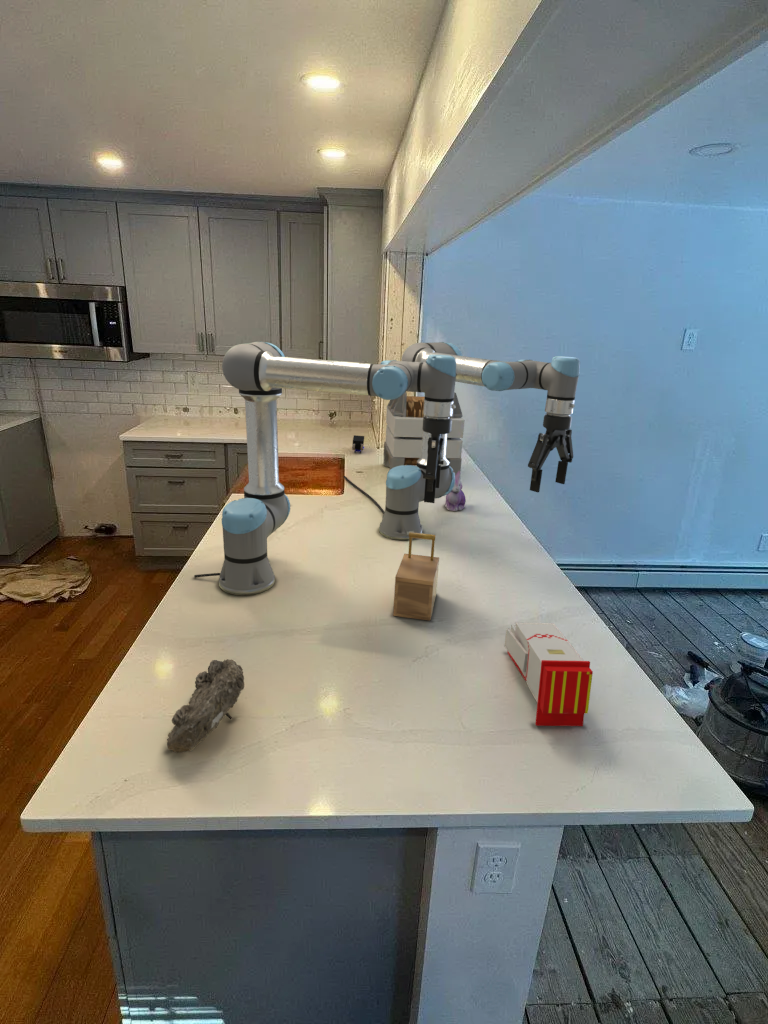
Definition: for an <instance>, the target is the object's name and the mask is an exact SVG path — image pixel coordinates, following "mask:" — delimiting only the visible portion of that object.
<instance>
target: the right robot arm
mask: <svg viewBox="0 0 768 1024" xmlns="http://www.w3.org/2000/svg"><path fill="white" fill-rule="evenodd" d="M429 355H449V356H453V357H454V358H455V359H456V380H455V383H461V384H462V383H463V384H467V385H473V386H479V387H485V388H486V389H487V390H489V391H491V392H492V391H493V392H504V391H511V390H525V389H535V390H542V391H547V392H546V400H545V406H544V412H545V413H544V414H543V420H542V421H543V422H542V427H543V428H545V433H542V432H539V433H538V435H537V440H536V443H535V446H534V448H533V451H532V452H531V455H530V458H529V460H528V463H527V467H528V468H530V469H532V470H531V478H530V484H529V491H531V492H535V493H540V490H541V483H542V476H543V469H542V467H543V466H544V464H545V462H546V461H547V458H548V457H549V455H550V453H551V452H552V451H553V450H554V449H556V451H557V454H558V456H559V460H558V461H557V467H556V475H555V483H557V484H561V485H566V478H567V472H568V465H569V463H572V462H573V459H574V449H573V440H572V433H573V429H571V427H572V420H573V416H572V414H573V413H574V408H575V406H576V405H575V400H576V393H577V387H578V382H579V379H580V378H579V377H580V367H581V361H580V358H578V357H574V356H564V355H563V356H561V355H556V356H554V357H552V359H551V362H546V361H538V360H533V359H519V360H517V361H503V360H497V359H496V360H495V359H494V360H493V359H488V358H487V359H486V358H480V357H472V356H465V355H463V353H462V351H461V350H460V348H459V347H458V346H457V345H456V344H454V343H451V342H445V341H441V342H440V341H439V342H438V341H436V342H415V343H412V344H410V345H409V346H408V347H406V348H405V350H404V351H403V352H402V356H401V360H400V361H407V362H420V363H421V362H426V360H427V357H428V356H429ZM424 417H425V415H424ZM429 437H431V434H430V433H426V432H424V431H423V438H422V456H421V457H420V458H419V459H418V460H417V466H413V465H401V466H397V467H394V468H392V469H390V468H389V470H388V472H387V475H386V479H385V504H384V505H385V507H384V508H385V509H383V507H382V506H381V505H380V504H379V503H378V501H376V500H375V498H373V497H372V496H371V495H370V494H369V493H367V492H366V491H365V490H363V489H362V488H360V487H359V486H358V485H356V484H355V483H354V482H352V481H351V480H350V479H349V478H348V477H347V476H346V475H344V476H343V479H345V480H346V481H347V482H348V483H349V484H350V485H351V486H353V487H354V488H355V489H357V490H358V491H359V492H360V493H362V494H363V495H365V496H366V497H367V498H368V499H369V500H371V502H373V503H374V505H375V506H377V508H378V509H379V510H380V512H381V513H382V514H383V515H382V519H381V522H379V527H378V533H379V534H380V535H381V536H382V537H385V538H387V539H389V540H395V541H409V532H413V533H422V534H423V525H422V524H421V518H420V515H419V507H420V506H419V505H420V503H421V502H424V494H425V480H426V479H424V478H423V475H425V474H426V466H427V457H428V453H427V451H428V439H429ZM442 438H444V443H443V449H442V460H441V461H444V463H443V465H441V464H439V465H441V471H440V483H439V488H436V490H435V499H441V498H442V497H446V495H447V494H449V493H450V492H451V491H452V489H453V487H454V484H455V474H454V473H453V469H452V468H451V467H450V466H449V464H450V462H449V461H448V460H447V459H446V445H447V434H443V437H442ZM429 474H430V473H429ZM415 539H416V538H412V540H415Z"/></svg>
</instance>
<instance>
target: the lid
mask: <svg viewBox="0 0 768 1024" xmlns="http://www.w3.org/2000/svg"><path fill="white" fill-rule="evenodd" d="M436 537H437V535H436V534H431V533H423V532H422V533H413V532H409V540H408V553H404V554H403V556H402V559H401V562H400V564H399V567H398V569H397V572H396V574H395V577H394V578H395V579H394V582H395V581H399V582H407V583H415V584H423V585H431V586H433V585H434V580H435V576H436V572H437V568H438V569H439V566H438V563H439V564H440V557H438V556H434V555H435V554H434V553H435V544H436V543H435V542H436ZM412 538H415V539H421V540H428V541H429V540H430V541H431V547H430V556H429V555H421V554H413V553H412V549H413V539H412Z"/></svg>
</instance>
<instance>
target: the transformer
mask: <svg viewBox="0 0 768 1024" xmlns="http://www.w3.org/2000/svg"><path fill="white" fill-rule="evenodd" d="M407 394H408V392H407V391H406V392H405V393H404V394H403V395H402V396H400V397H399V398H397V399H393V400H388V401H389V402H388V404H387V405H386V413H385V414H386V415H385V423H386V428H385V438H384V442H383V466H384V467H388V468H389V470H390V469H392V468H394V467H397V466H401V465H404V466H406V465H413V466H417V460H418V459H419V458H420V457H421V456H422V438H423V429H422V428H423V418H424V414H423V409H424V398H425V396H415V395H414V396H413V395H412V396H411V395H407ZM452 405H455V409H452V410H453V412H452V416H451V417H450V418H451V419H452V426H451V432H450V433H448V434H447V445H446V459H447V460H448V461H449V462H450V464H449V466H450V467H451V468H452V469H453V473H454V474H455V476H456V474H457V473H458V471H461V472H462V461H463V460H462V453H463V442H464V441H463V440H462V439H463V438H464V431H465V430H464V429H465V419H464V418H463V411H462V408H461V405H460V402H459V398H458V395H457V392H455V391H454V401H453V404H452Z"/></svg>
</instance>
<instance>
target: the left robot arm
mask: <svg viewBox="0 0 768 1024" xmlns="http://www.w3.org/2000/svg"><path fill="white" fill-rule="evenodd" d="M221 368H222V373H223V376H224V378H225V380H226V381H227V382H228V384H229V385H230V386H231V387H233V388H235V389H237V390H238V394H239V395H240V396H241V397H242V398H243V399H244V410H245V411H244V412H245V429H246V430H245V431H246V447H247V448H246V450H247V468H248V469H247V471H248V472H247V473H248V482H247V484H246V485H245V486H244V487H243V498H238V499H234V500H232V501H229V502H228V503H227V504H226V505H225V506H224V507H223V509H222V512H221V513H222V514H221V526H222V541H223V542H222V543H223V556H224V558H223V559H224V560H223V563H222V566H221V569H220V572H212V573H203V574H202V573H199V574H194V576H193V577H194V578H204V577H217V576H218V586H219V588H220V589H221V590H222V591H223V592H224V593H227V594H230V595H235V596H252V595H257V594H260V593H265V592H266V591H268V590H269V589H271V588H272V587H273V586H274V585H275V581H276V579H275V577H276V576H275V572H274V570H273V567H272V564H271V562H270V559H269V557H268V537H270V536H271V535H272V534H273V533H274V532H276V530H278V529H280V527H282V526H283V525H284V524H285V522H286V521H287V519H288V517H289V515H290V513H291V502H290V498H289V497H288V496H287V495H286V493H285V492H286V491H285V486H284V485H283V484H282V483H281V482H280V471H279V468H280V467H279V466H280V465H279V434H278V432H279V431H278V400H279V398H280V397H281V396H282V395H283V389H287V390H297V391H310V392H322V393H334V394H347V395H357V396H370V397H376V398H377V397H378V398H380V399H382V400H385V401H390V400H393V399H397V398H399V397H400V396H402V395H403V394H404V393H405V392H406V393H409V392H410V393H424V397H425V398H424V409H423V414H424V415H425V417H424V418H423V428H422V429H423V431H424V432H426V433H430V434H431V437H429V439H428V451H427V453H428V457H427V466H426V474H425V475H423V478H424V479H426V480H425V494H424V501H423V503H426V504H427V503H429V504H435V503H436V502H435V501H436V498H435V490H436V488H439V483H440V471H441V465H443V463H444V461H441V460H442V449H443V443H444V438H442V437H443V434H448V433H450V432H451V426H452V419H451V418H450V417H451V416H452V412H453V410H452V409H455V405H452V404H453V401H454V392H455V390H456V382H455V380H456V359H455V358H454V357H453V356H449V355H429V356H428V357H427V360H426V362H421V363H420V362H407V361H401V360H396V359H392V360H391V359H390V360H387V359H386V360H382V361H381V362H380V363H366V362H355V361H341V360H327V359H315V358H303V357H290V356H285V354H284V352H283V351H282V350H281V349H280V348H279V347H278V345H277V346H276V344H274V343H271V342H267V341H261V340H260V341H252V342H247V343H240V344H239V343H238V344H235V345H233V346H231V348H229V349H228V350H227V351H226V352H225V354H224V356H223V359H222V363H221ZM439 464H441V465H439ZM429 473H430V474H429Z"/></svg>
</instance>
